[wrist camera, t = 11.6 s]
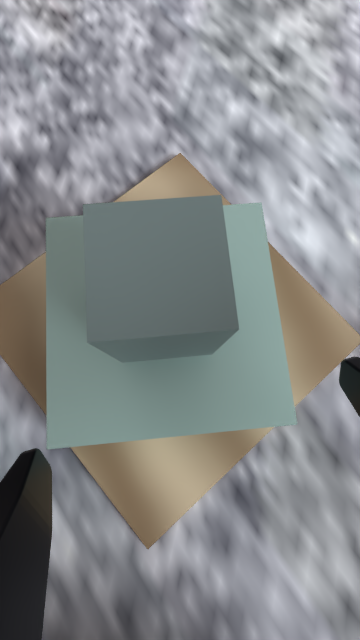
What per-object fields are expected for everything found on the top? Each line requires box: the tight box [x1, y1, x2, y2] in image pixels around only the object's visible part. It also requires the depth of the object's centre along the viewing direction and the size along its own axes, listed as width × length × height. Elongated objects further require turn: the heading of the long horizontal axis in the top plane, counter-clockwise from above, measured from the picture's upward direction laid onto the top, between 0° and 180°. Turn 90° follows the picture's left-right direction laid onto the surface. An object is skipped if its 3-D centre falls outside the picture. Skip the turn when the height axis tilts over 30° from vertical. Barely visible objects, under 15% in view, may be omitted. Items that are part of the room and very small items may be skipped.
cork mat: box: [0, 153, 360, 549], centre depth 17 cm, size 15×15×1 cm
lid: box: [46, 195, 297, 449], centre depth 13 cm, size 11×11×8 cm
